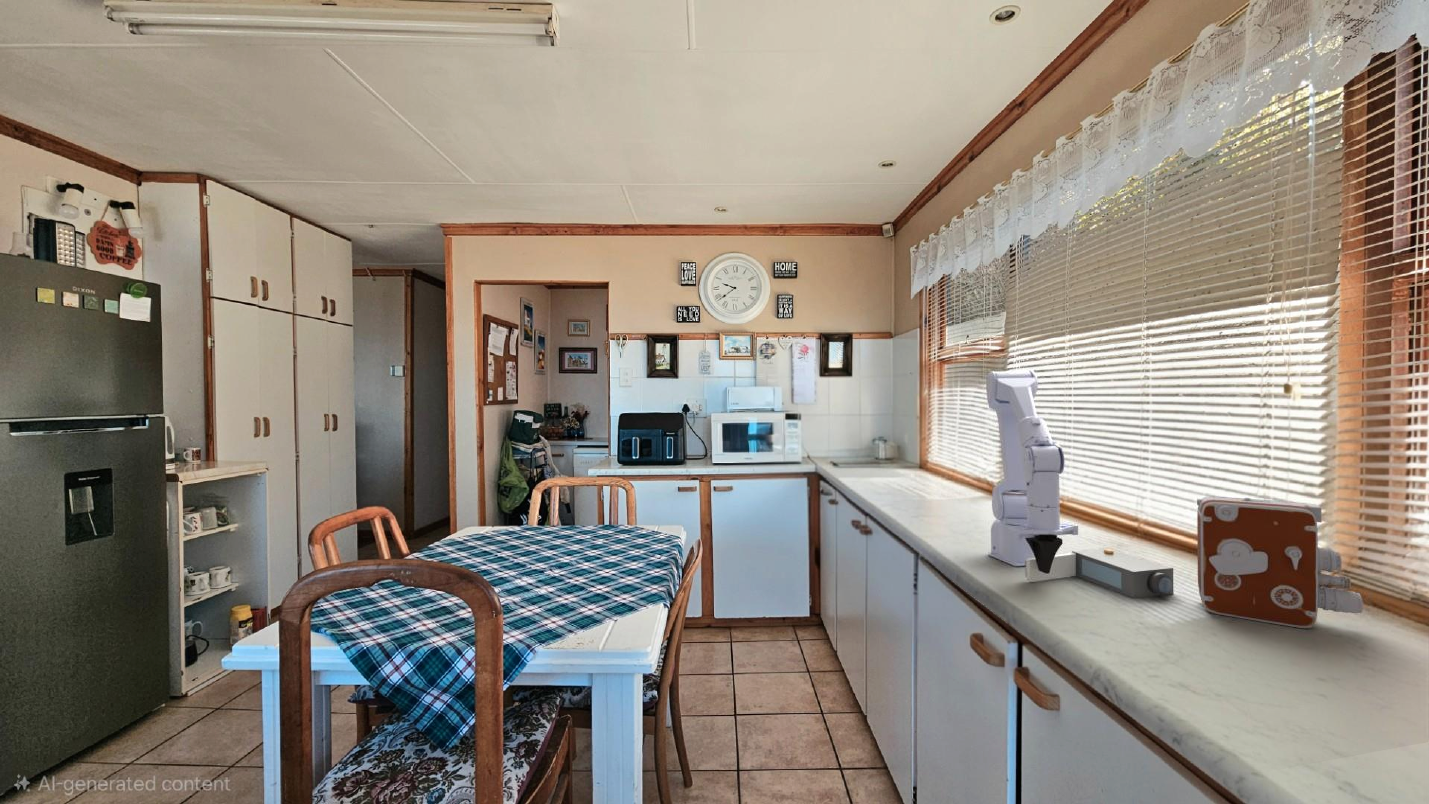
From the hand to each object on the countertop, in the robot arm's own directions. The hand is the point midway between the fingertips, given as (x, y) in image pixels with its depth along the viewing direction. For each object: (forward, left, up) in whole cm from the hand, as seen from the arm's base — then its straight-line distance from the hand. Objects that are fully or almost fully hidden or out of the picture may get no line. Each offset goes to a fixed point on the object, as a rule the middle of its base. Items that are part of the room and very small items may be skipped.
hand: (1043, 572), depth 112 cm
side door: (-3, +4, -2) cm, 5 cm away
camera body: (+3, +15, -3) cm, 15 cm away
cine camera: (+23, +24, -3) cm, 34 cm away
